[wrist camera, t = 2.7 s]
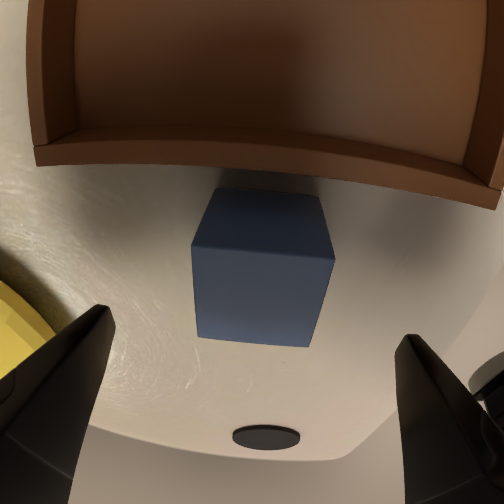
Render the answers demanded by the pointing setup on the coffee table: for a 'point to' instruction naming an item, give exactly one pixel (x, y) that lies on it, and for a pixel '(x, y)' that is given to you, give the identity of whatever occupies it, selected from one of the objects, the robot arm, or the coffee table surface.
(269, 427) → the coaster
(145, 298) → the coffee table surface
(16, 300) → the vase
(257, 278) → the block
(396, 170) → the tray
